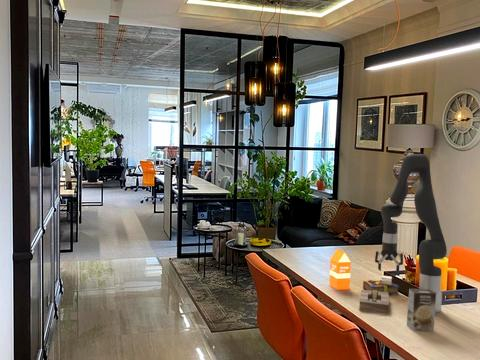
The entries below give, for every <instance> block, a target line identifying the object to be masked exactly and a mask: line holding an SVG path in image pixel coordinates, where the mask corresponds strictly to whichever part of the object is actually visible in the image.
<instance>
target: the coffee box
mask: <svg viewBox="0 0 480 360" xmlns="http://www.w3.org/2000/svg"><path fill="white" fill-rule="evenodd" d="M407 302H408V303H407V313H406V314H407V316H406V317H407V318H406V326H407V327H408V328H409V329H410V330H411V331H413V332H434V331H435V315H436V313H435V302H436V293H435V292H433V291H431V290H430V289H419V288H409V289H408V301H407Z"/></svg>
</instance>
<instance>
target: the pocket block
mask: <svg viewBox="0 0 480 360" xmlns="http://www.w3.org/2000/svg"><path fill="white" fill-rule="evenodd" d="M372 295H373V291H369V290H365V289H361V290H360V297H359V308H358V310H359V311H367V312H371V313H372V312H374V313H381V314H389V313H390V298H389V297H390V296H389V295H390V294H389V293H388V292H379V291H377V299H376V302H373V298H372Z"/></svg>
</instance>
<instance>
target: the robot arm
mask: <svg viewBox="0 0 480 360" xmlns="http://www.w3.org/2000/svg"><path fill="white" fill-rule="evenodd" d="M415 173H416V174H417V175H418V179H419V180H418V181H419V183H418V184H419V185H418V188H417V190H416V192H415V195H414V197H413V198H414V200H413V201H414V207H415V211H416V214H417V217H418V218H419V220H420V221H421V222H422V224H424V226H425V228H426V229H427V230H428V233H429V237H430V239H423V240H421V241H420V244H419V247H418V266H419V285H418V286H419V287H418V289H430V290H431V291H433V292H435V293H436V302H435V314H437V313H440V312H441V311H442V303H443V302H442V300H443V290H441V286H442V284H441V283H442V268H441V267H438V266H437V265H434V260H442V259H444V258H445V257H446V255H447V251H448V248H447V244H446V241H445V238H444V233H443V230H442V228H441V224H440V219H439V214H438V210H437V203H436V200H435V194H434V190H433V184H432V176H431V167H430V161H429V158H428V156H427V155H426V154H424V153H408V154H406V155H405V156H404V158H403V160H402V163H401V167H400V170H399V174H398V176H397V181H396V184H395V187H394V189H393V190H392V193H391V195H390V197H389V200H390V203H385V204H382V206H381V209H380V215H381V217H382V223H383V234H382V243H381V246H382V247H381V251H378V250H376V251H375V256H374V262H375V263H377V264H378V266H377V269H378V270H379V271H380V272H382V263H383V262H384V261H390V262H391V261H393V262H394V263H395V266H396V269H395V273H399V272H400V266H401V265H402V266H403V264H404V255H403V254H404V253H403V252H398V242H399V240H398V225H399V224H398V222H396V221H392V219H391V218H399V217H400V216H401V215H402V213H403V208H404V202H405V200H406V199H407V196H408V194H409V191H410V190H409V184H408V183H409V182H408V178H409V176H410V175H411V174H415ZM380 255H381V258H380V259H379V256H380ZM397 257H399V258H400V261H399V260H398V259H397Z"/></svg>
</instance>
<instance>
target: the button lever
mask: <svg viewBox="0 0 480 360" xmlns="http://www.w3.org/2000/svg"><path fill="white" fill-rule="evenodd" d="M372 298H373V302H376V299H377V291H374V290H373V295H372Z"/></svg>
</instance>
